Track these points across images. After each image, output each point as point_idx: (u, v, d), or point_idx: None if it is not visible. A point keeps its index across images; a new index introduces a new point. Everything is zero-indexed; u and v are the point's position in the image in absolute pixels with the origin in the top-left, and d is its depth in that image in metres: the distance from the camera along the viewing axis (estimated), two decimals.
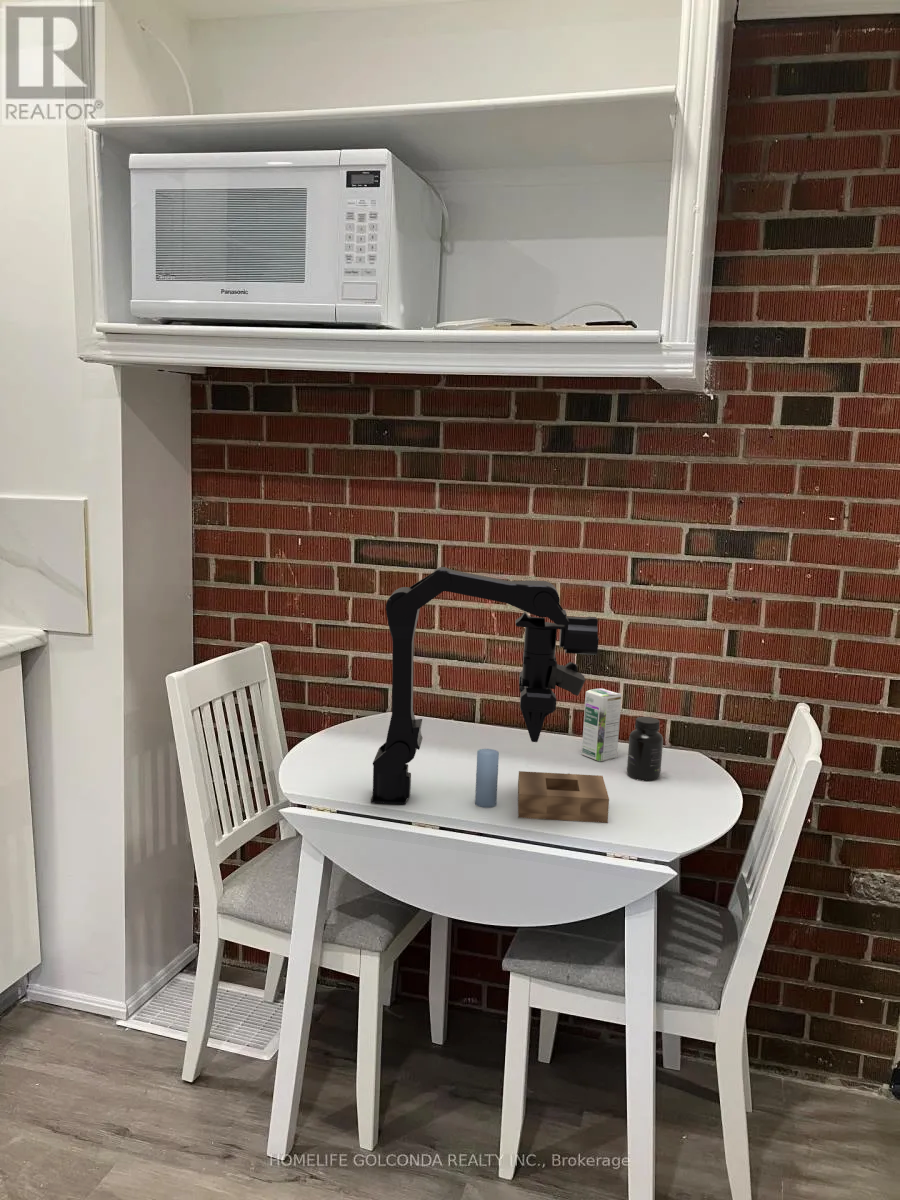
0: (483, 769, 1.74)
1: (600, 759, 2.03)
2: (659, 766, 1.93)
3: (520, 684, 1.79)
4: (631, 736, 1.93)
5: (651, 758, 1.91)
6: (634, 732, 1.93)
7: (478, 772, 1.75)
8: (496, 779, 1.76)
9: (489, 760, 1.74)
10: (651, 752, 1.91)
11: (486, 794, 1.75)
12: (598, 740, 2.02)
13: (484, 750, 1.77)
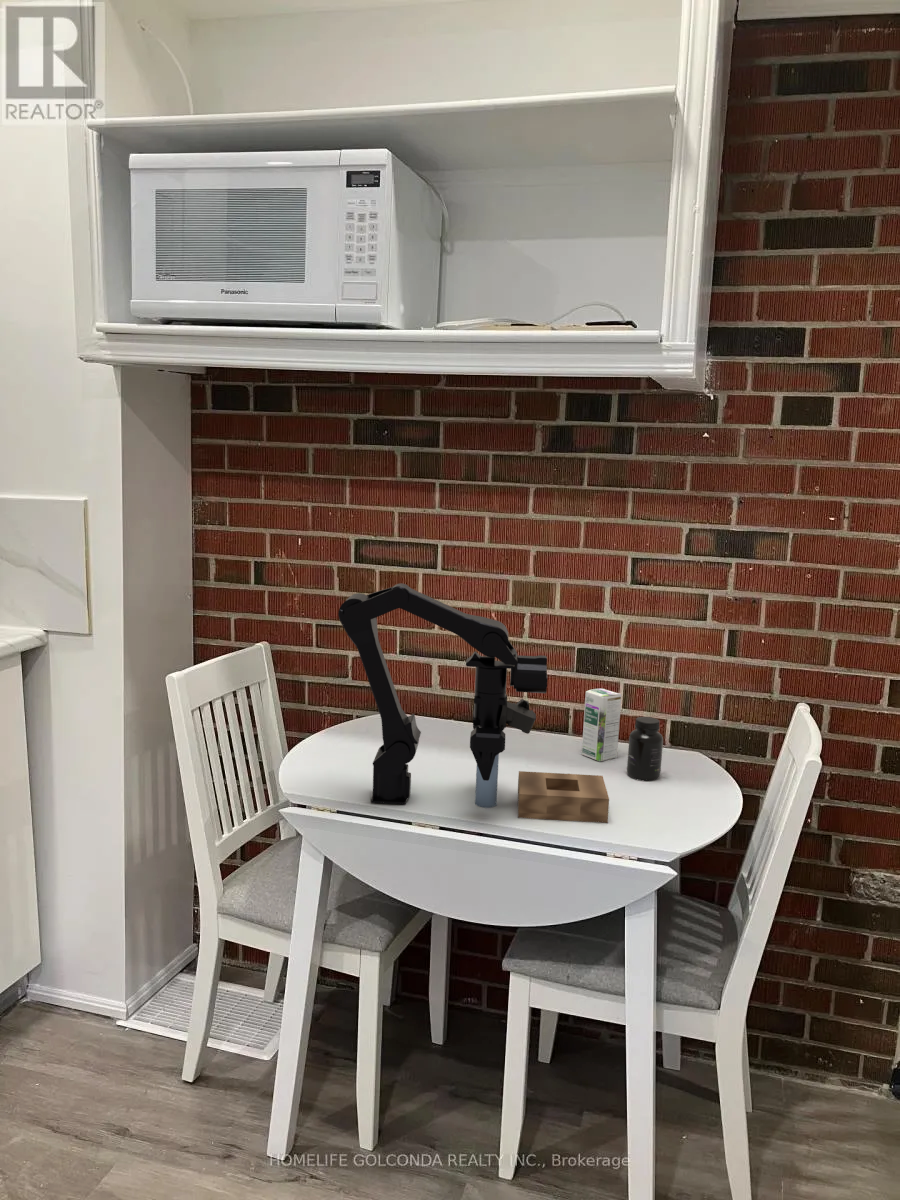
0: None
1: (600, 759, 2.03)
2: (659, 766, 1.93)
3: None
4: (631, 736, 1.93)
5: (651, 758, 1.91)
6: (634, 732, 1.93)
7: (478, 772, 1.75)
8: (496, 779, 1.76)
9: None
10: (651, 752, 1.91)
11: (486, 794, 1.75)
12: (598, 740, 2.02)
13: None
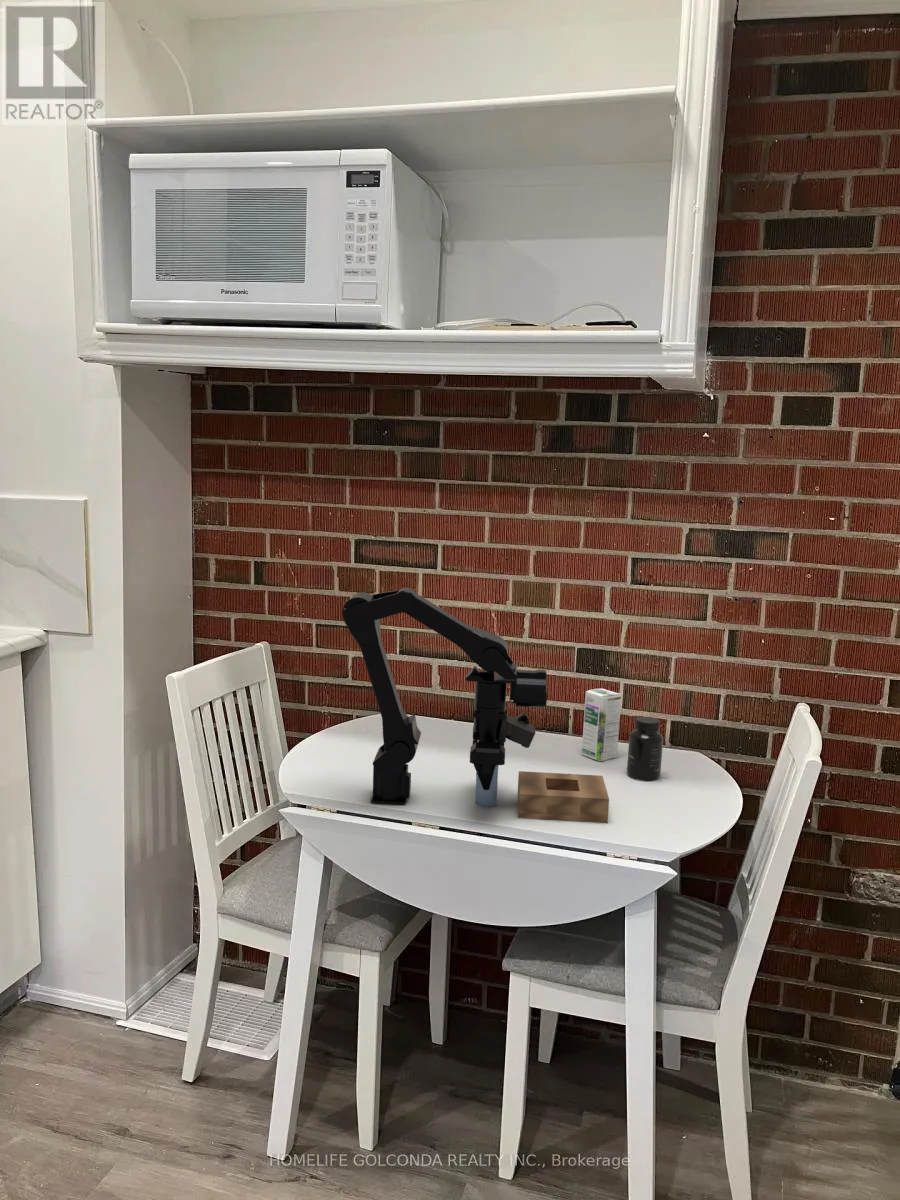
0: None
1: (600, 759, 2.03)
2: (659, 766, 1.93)
3: None
4: (631, 736, 1.93)
5: (651, 758, 1.91)
6: (634, 732, 1.93)
7: None
8: (496, 779, 1.76)
9: None
10: (651, 752, 1.91)
11: (486, 795, 1.75)
12: (598, 740, 2.02)
13: None
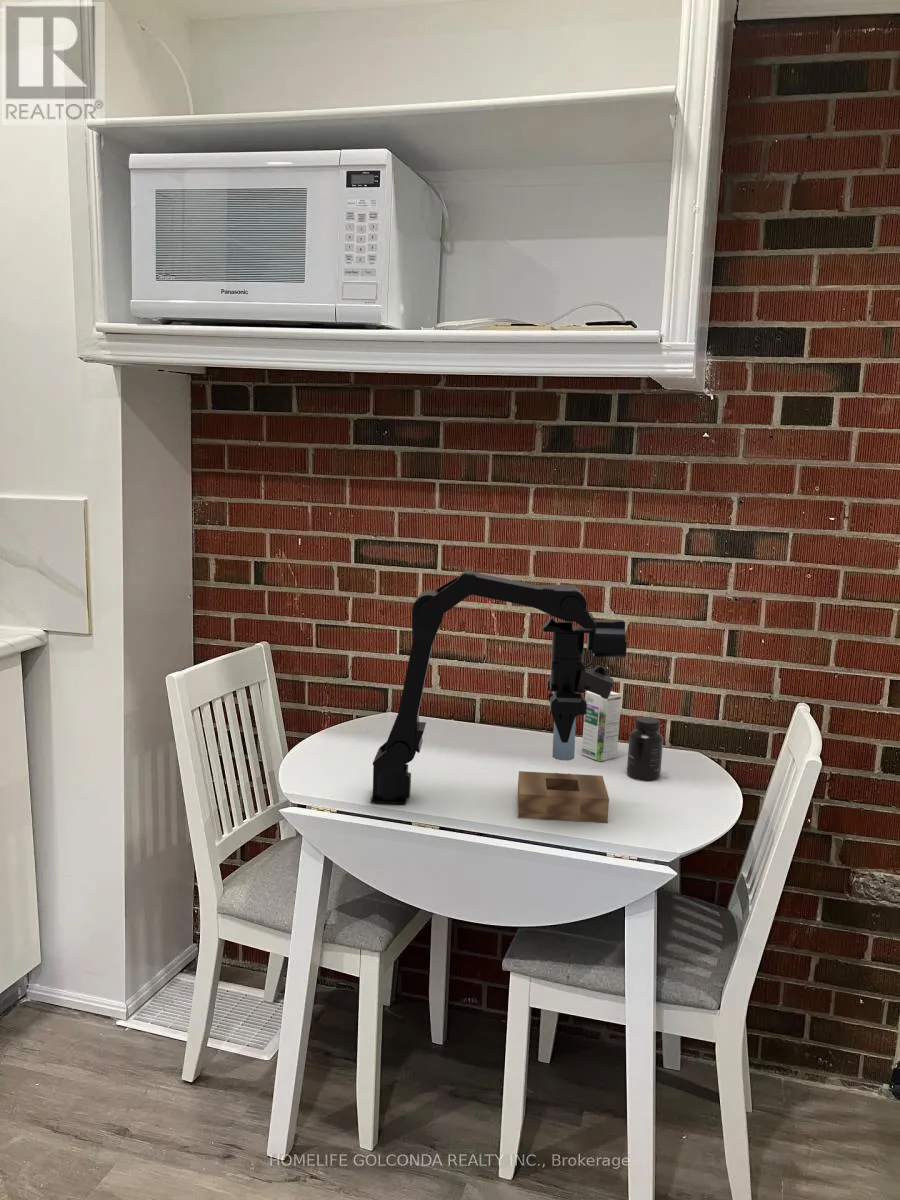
0: None
1: (600, 759, 2.03)
2: (659, 766, 1.93)
3: (548, 689, 1.79)
4: (631, 736, 1.93)
5: (651, 758, 1.91)
6: (634, 732, 1.93)
7: None
8: (574, 731, 1.73)
9: None
10: (651, 752, 1.91)
11: (565, 747, 1.73)
12: (598, 740, 2.02)
13: None
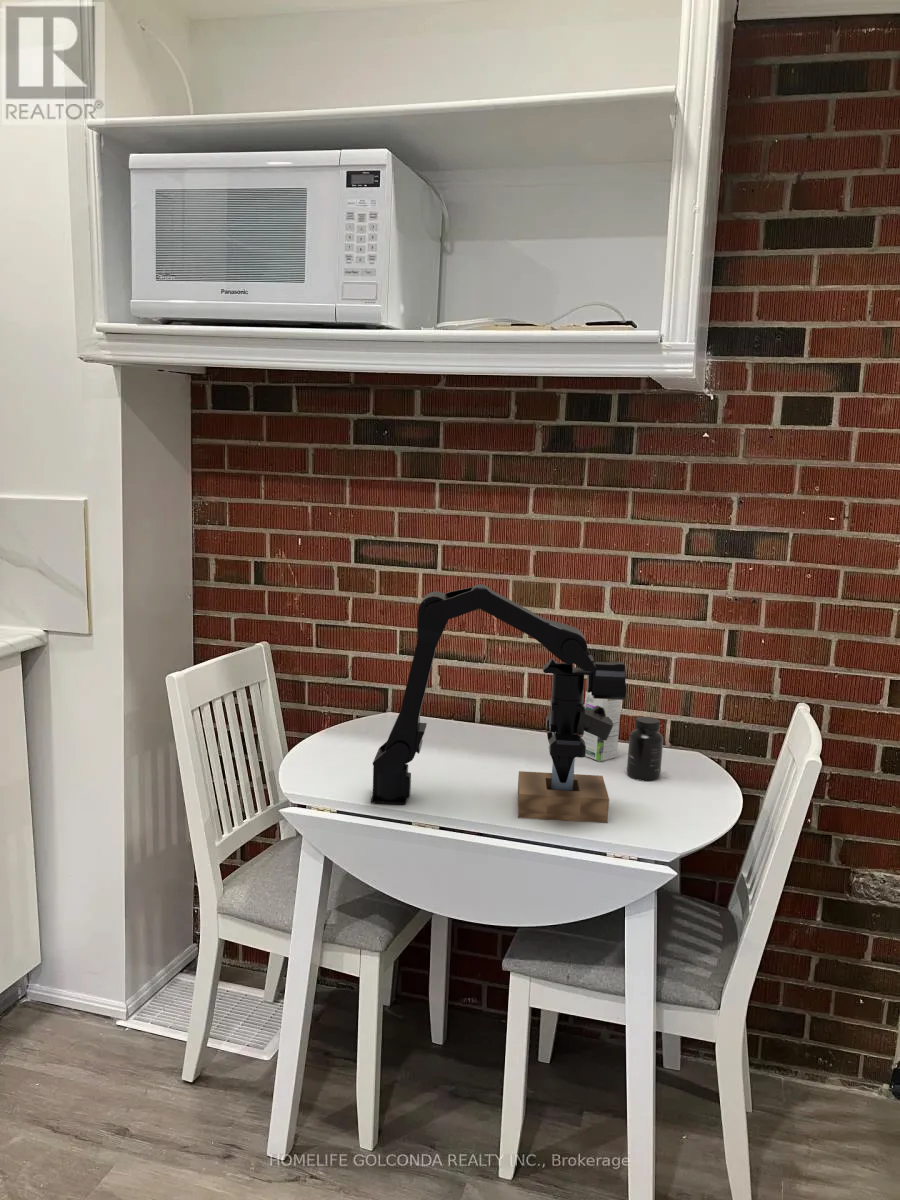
0: None
1: (600, 759, 2.03)
2: (659, 766, 1.93)
3: (547, 728, 1.80)
4: (631, 736, 1.93)
5: (651, 758, 1.91)
6: (634, 732, 1.93)
7: None
8: (573, 772, 1.75)
9: None
10: (651, 752, 1.91)
11: (563, 787, 1.74)
12: (598, 740, 2.02)
13: None
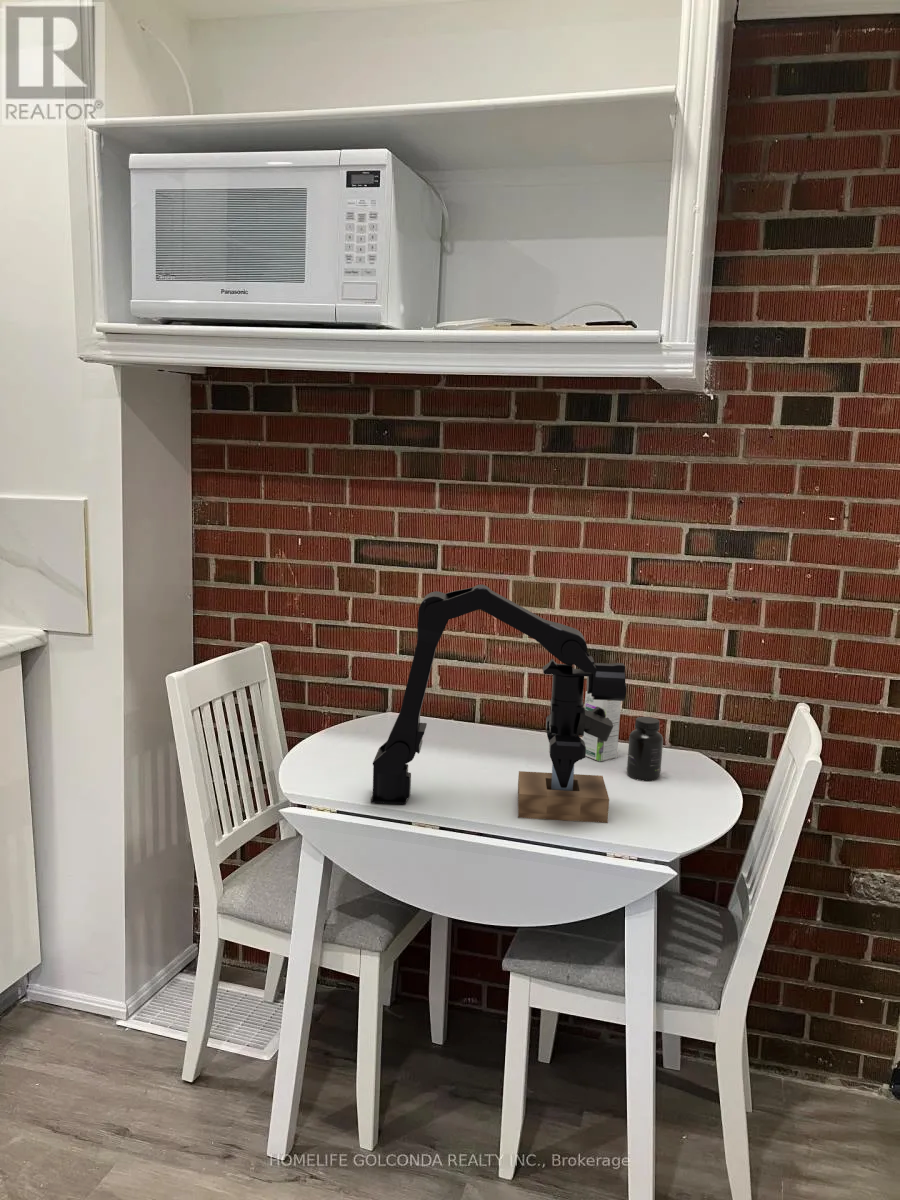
0: None
1: (600, 759, 2.03)
2: (659, 766, 1.93)
3: (547, 729, 1.80)
4: (631, 736, 1.93)
5: (651, 758, 1.91)
6: (634, 732, 1.93)
7: (554, 771, 1.74)
8: (573, 778, 1.75)
9: None
10: (651, 752, 1.91)
11: None
12: (598, 740, 2.02)
13: None
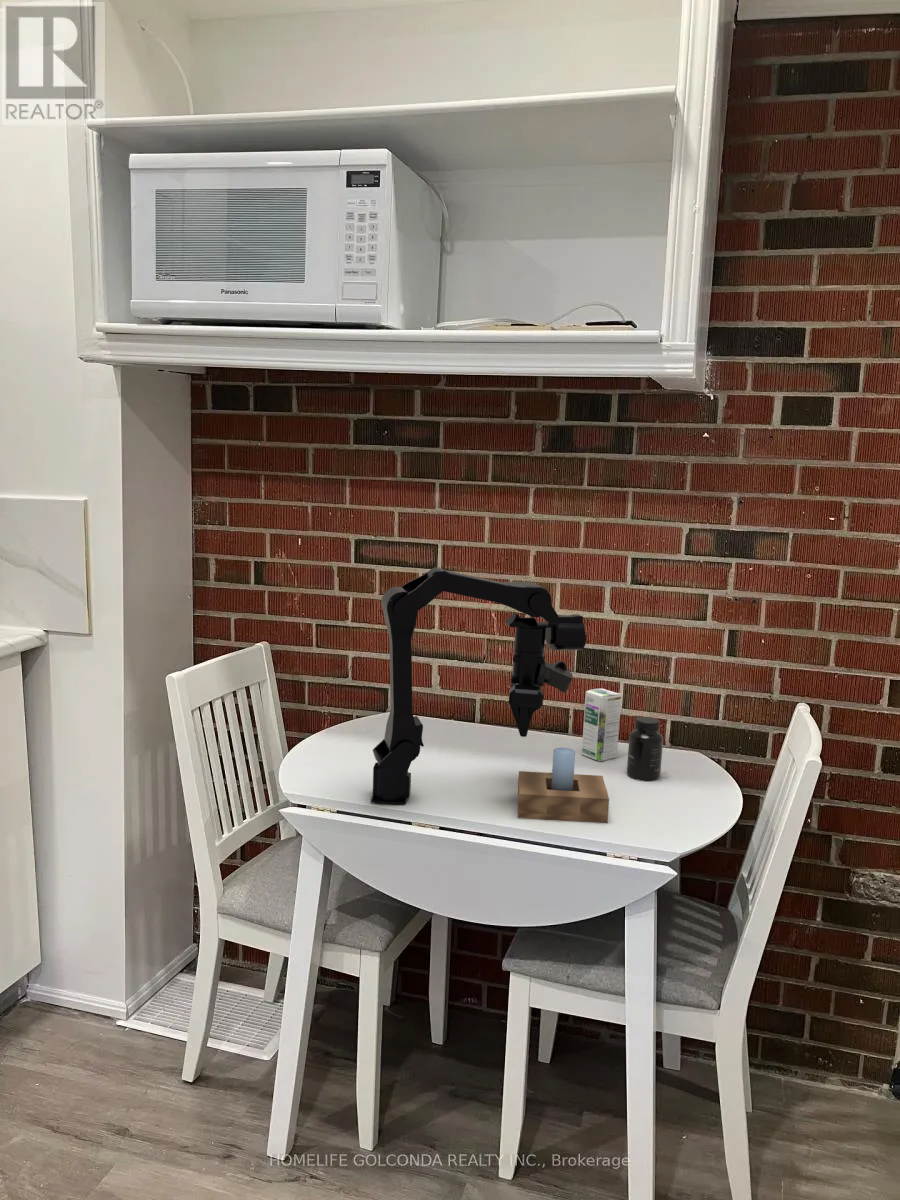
0: (560, 768, 1.73)
1: (600, 759, 2.03)
2: (659, 766, 1.93)
3: (512, 681, 1.87)
4: (631, 736, 1.93)
5: (651, 758, 1.91)
6: (634, 732, 1.93)
7: (554, 771, 1.74)
8: (573, 778, 1.75)
9: (566, 759, 1.73)
10: (651, 752, 1.91)
11: None
12: (598, 740, 2.02)
13: (560, 749, 1.76)
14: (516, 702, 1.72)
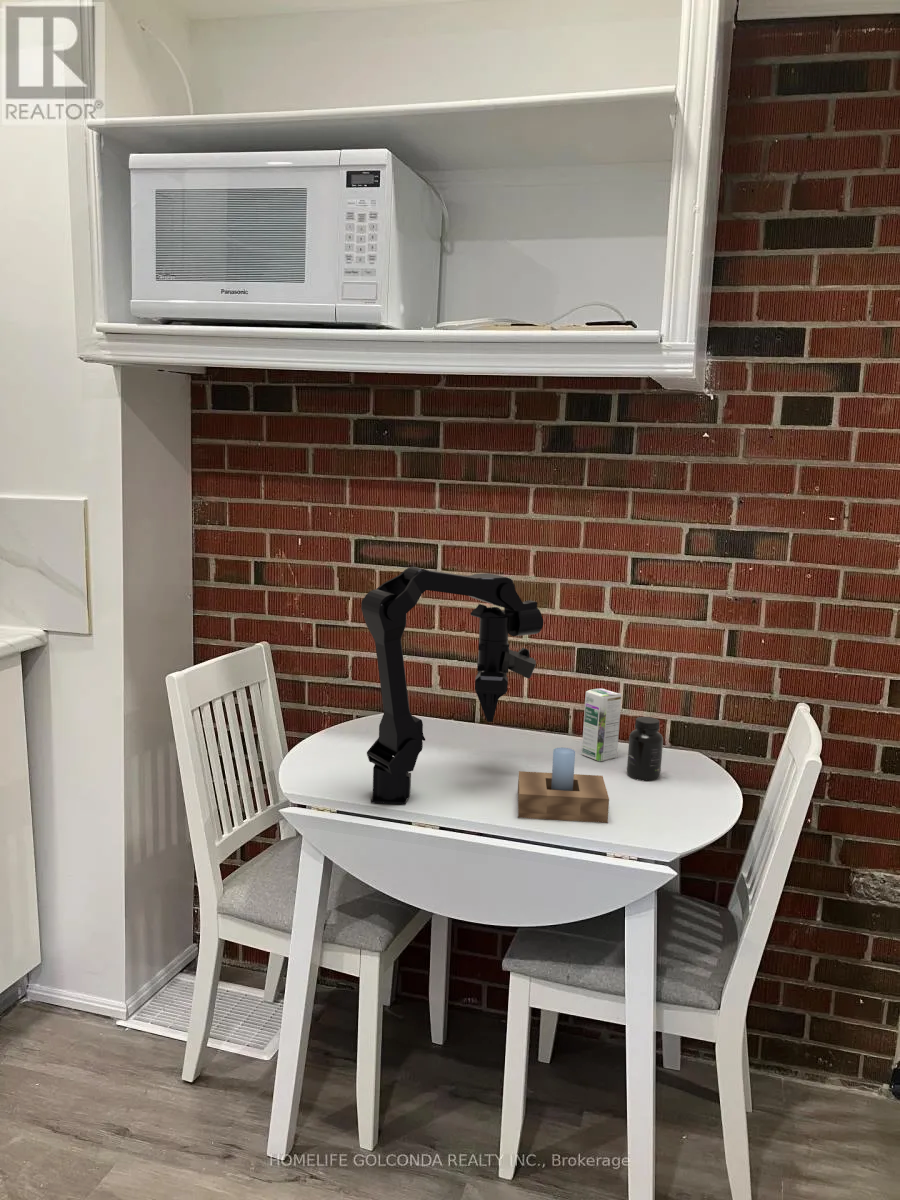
0: (559, 768, 1.73)
1: (600, 759, 2.03)
2: (659, 766, 1.93)
3: (478, 669, 1.94)
4: (631, 736, 1.93)
5: (651, 758, 1.91)
6: (634, 732, 1.93)
7: (554, 771, 1.74)
8: (573, 778, 1.75)
9: (566, 759, 1.73)
10: (651, 752, 1.91)
11: None
12: (598, 740, 2.02)
13: (560, 749, 1.76)
14: (482, 689, 1.79)
